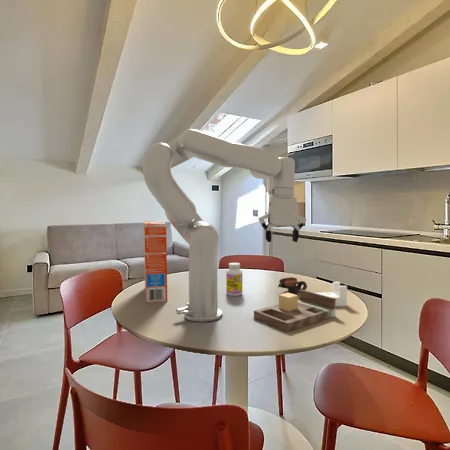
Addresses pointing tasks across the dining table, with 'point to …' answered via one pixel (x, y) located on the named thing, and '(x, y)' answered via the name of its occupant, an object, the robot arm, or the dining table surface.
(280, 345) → the dining table surface
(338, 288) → the bracket
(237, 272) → the supplement bottle
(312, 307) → the box
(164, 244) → the orange cereal box
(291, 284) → the pottery mug
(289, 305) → the block
